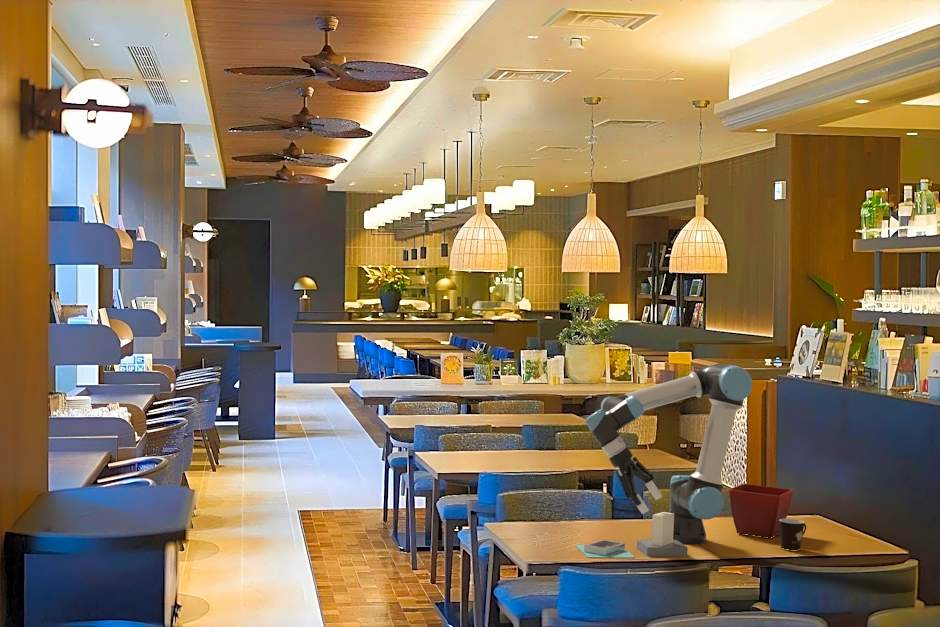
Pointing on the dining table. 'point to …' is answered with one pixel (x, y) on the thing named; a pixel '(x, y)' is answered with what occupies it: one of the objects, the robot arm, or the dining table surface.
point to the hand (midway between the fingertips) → (652, 505)
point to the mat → (616, 555)
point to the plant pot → (759, 508)
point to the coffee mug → (791, 533)
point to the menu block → (662, 528)
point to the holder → (604, 547)
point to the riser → (662, 548)
